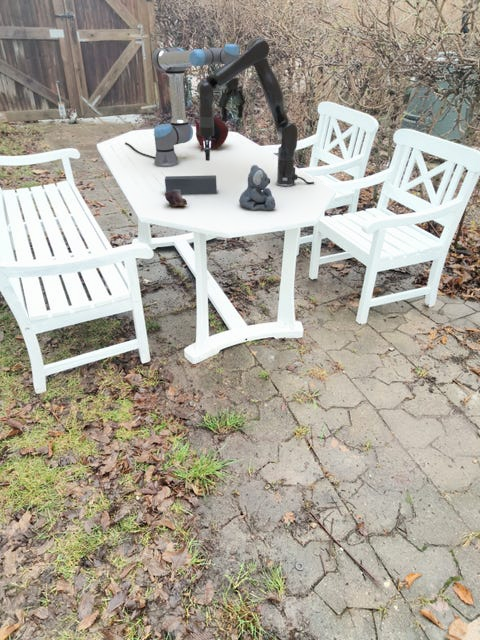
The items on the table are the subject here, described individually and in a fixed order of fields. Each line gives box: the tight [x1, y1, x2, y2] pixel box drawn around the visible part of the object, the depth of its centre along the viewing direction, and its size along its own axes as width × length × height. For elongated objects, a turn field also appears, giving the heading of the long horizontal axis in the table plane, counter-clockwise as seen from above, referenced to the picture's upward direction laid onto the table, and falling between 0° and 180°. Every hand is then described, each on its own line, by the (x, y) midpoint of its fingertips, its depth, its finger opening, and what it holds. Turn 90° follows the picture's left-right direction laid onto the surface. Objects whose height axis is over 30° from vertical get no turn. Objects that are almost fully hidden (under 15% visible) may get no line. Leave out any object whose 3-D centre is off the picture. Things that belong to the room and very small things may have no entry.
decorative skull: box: [193, 116, 229, 152], centre depth 324 cm, size 21×24×25 cm
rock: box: [164, 189, 188, 207], centre depth 228 cm, size 12×9×10 cm
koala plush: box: [238, 164, 276, 211], centre depth 224 cm, size 17×18×20 cm
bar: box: [164, 174, 218, 195], centre depth 244 cm, size 27×5×8 cm, turn 92°
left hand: (232, 119), depth 257 cm, fingers open, 13 cm apart
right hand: (207, 158), depth 237 cm, fingers open, 8 cm apart
